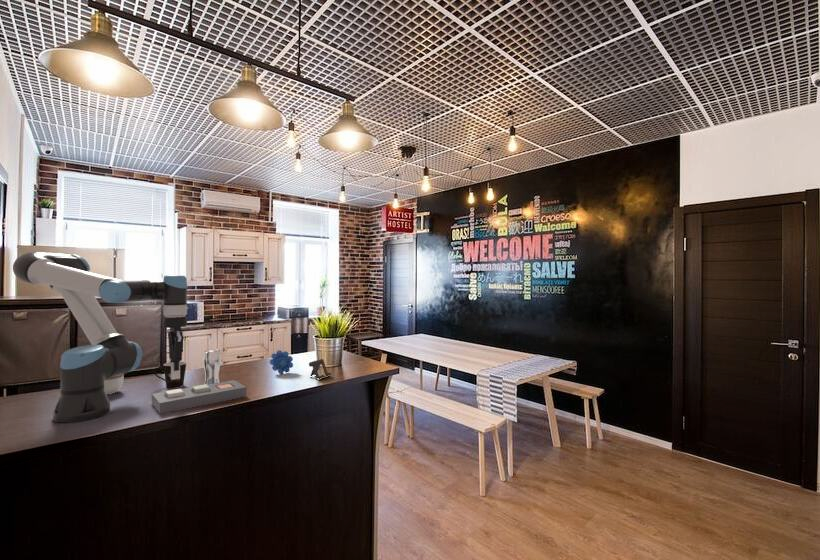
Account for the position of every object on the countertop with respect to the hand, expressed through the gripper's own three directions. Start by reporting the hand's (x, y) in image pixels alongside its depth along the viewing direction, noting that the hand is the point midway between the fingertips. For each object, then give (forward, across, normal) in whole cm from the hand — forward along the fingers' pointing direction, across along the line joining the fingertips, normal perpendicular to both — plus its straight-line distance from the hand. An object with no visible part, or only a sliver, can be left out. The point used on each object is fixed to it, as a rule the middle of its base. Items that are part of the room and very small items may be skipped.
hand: (175, 378), depth 143 cm
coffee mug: (+10, +30, -5) cm, 32 cm away
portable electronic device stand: (+11, 0, -61) cm, 62 cm away
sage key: (+8, 0, -9) cm, 12 cm away
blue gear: (+11, +19, -51) cm, 55 cm away
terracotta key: (+9, 0, -18) cm, 20 cm away
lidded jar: (+10, +35, +17) cm, 40 cm away
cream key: (+8, 0, 0) cm, 8 cm away
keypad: (+10, 0, -9) cm, 13 cm away
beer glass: (+10, +22, -19) cm, 31 cm away
